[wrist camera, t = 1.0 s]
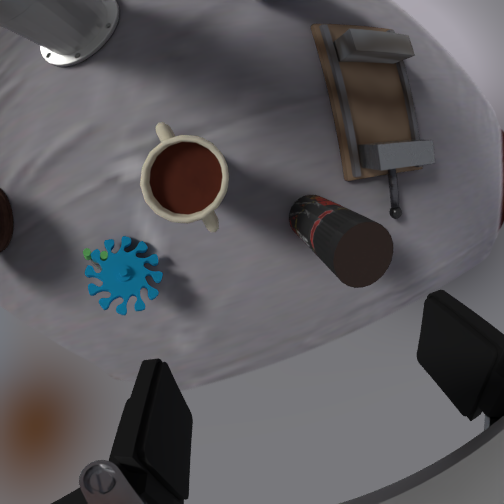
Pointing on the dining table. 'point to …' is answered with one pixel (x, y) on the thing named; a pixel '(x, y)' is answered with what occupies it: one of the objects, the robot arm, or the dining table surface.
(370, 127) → the vise bed
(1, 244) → the matte charcoal ball
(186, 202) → the character mug
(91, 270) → the blue knobbly toy
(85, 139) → the dining table surface
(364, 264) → the deodorant
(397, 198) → the sliding jaw
